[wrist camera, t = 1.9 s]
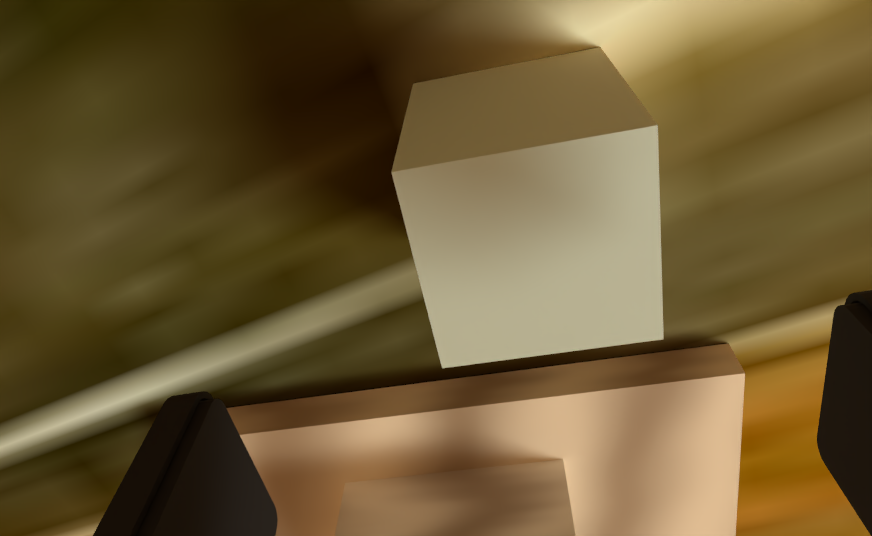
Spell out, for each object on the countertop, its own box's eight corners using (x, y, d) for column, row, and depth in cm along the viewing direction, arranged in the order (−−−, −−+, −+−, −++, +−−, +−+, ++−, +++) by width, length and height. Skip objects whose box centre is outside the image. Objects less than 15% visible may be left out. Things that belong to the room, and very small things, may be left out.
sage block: (599, 46, 17) (657, 125, 12) (611, 215, 19) (663, 339, 14) (413, 83, 18) (391, 172, 12) (448, 240, 20) (442, 368, 15)
